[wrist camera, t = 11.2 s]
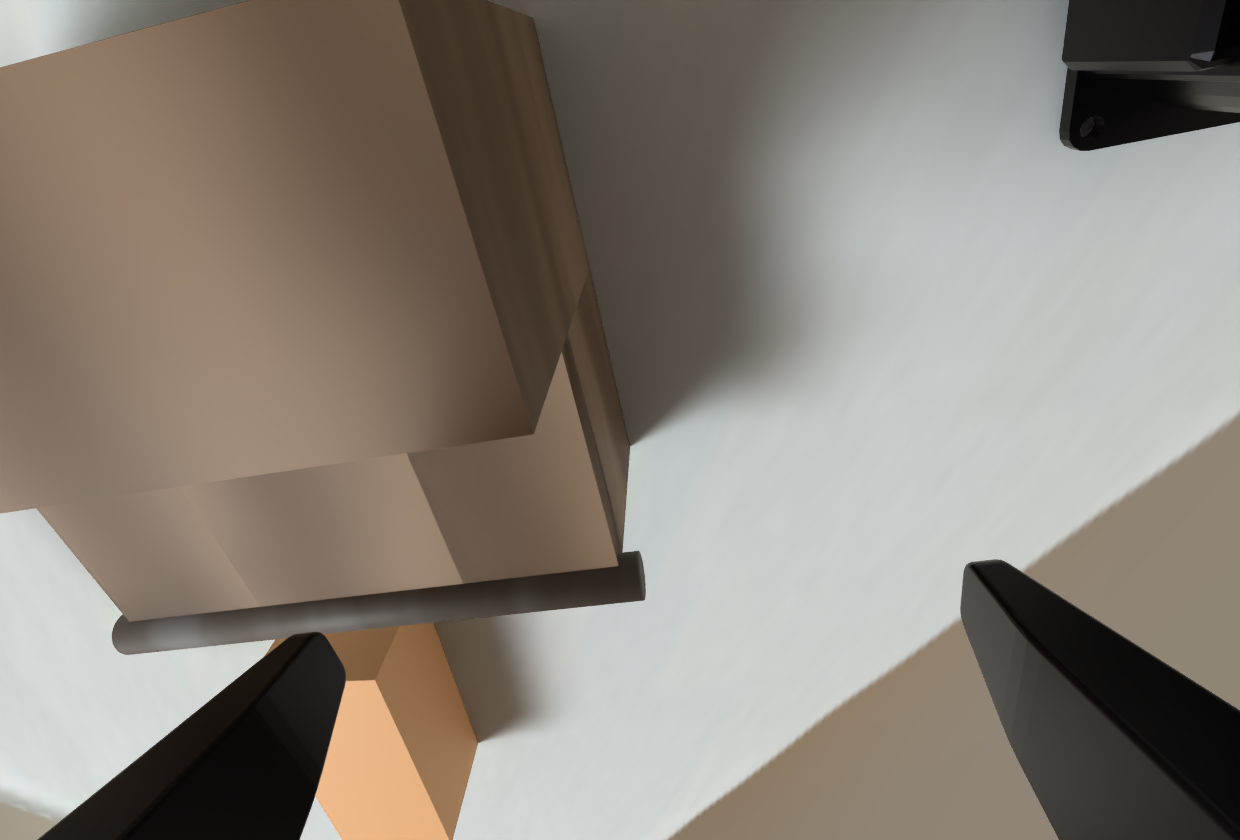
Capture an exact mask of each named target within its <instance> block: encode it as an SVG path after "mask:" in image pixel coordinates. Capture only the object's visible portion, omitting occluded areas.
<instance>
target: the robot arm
mask: <svg viewBox="0 0 1240 840" xmlns="http://www.w3.org/2000/svg"><path fill="white" fill-rule="evenodd" d="M1062 60H1063V62H1064V63H1065V64H1066V65H1067V66H1068V69H1067V77H1066V84H1065V92H1064V99H1063V107H1062V115H1061V122H1060V130H1059V133H1060V140H1061V142H1062V143H1063V145H1064V146H1066V147H1068V148H1070V149H1075V150H1080V151H1089V150H1095V149H1100V148H1105V147H1110V146H1116V145H1121V144H1126V143H1131V142H1137V141H1142V140H1147V139H1152V138H1158V137H1163V136H1168V135H1173V134H1179V133H1184V132H1189V131H1194V130H1200V129H1205V128H1210V127H1215V126H1221V125H1226V124H1231V123H1236V122H1240V0H1069V7H1068V15H1067V23H1066V31H1065V39H1064V47H1063V54H1062ZM1090 117H1092V118H1093V121H1094V125H1093V127H1092V130H1091V131H1090V132H1089V133H1088V134H1087V135H1086V136H1084V137H1081V133H1080V129H1081V127H1082V124H1083V123H1084V122H1085V121H1086V120H1087V119H1088V118H1090ZM960 610H961V618H962V622H963V625H964V628H965V631H966V633H967V636H968V639H969V641H970V644H971V646H972V648H973V651H974V653H975V656H976V659H977V662H978V664H979V667H980V669H981V672H982V674H983V677H984V679H985V682H986V685H987V687H988V690H989V692H990V695H991V697H992V700H993V703H994V705H995V708H996V710H997V713H998V715H999V718H1000V721H1001V723H1002V725H1003V728H1004V730H1005V733H1006V735H1007V738H1008V740H1009V742H1010V745H1011V747H1012V748H1013V751H1014V753H1015V755H1016V757H1017V759H1018V761H1019V763H1020V765H1021V767H1022V769H1023V771H1024V773H1025V774H1026V777H1027V779H1028V781H1029V782H1030V784H1031V786H1032V788H1033V790H1034V792H1035V794H1036V796H1037V798H1038V800H1039V802H1040V804H1041V805H1042V807H1043V809H1044V811H1045V813H1046V815H1047V817H1048V819H1049V821H1050V823H1051V825H1052V827H1053V829H1054V831H1055V833H1056V834H1057V836H1058V838H1059V840H1240V710H1238V709H1237V708H1235V707H1234V706H1232V705H1231V704H1229V703H1227V702H1226V701H1224V700H1223V699H1221V698H1220V697H1218V696H1216V695H1215V694H1213V693H1212V692H1210V691H1209V690H1207V689H1205V688H1204V687H1202V686H1201V685H1199V684H1197V683H1196V682H1194V681H1193V680H1191V679H1190V678H1188V677H1186V676H1185V675H1183V674H1182V673H1180V672H1179V671H1177V670H1175V669H1174V668H1172V667H1171V666H1169V665H1167V664H1166V663H1164V662H1162V661H1161V660H1160V659H1158V658H1157V657H1155V656H1153V655H1152V654H1150V653H1149V652H1147V651H1145V650H1144V649H1142V648H1141V647H1139V646H1138V645H1136V644H1134V643H1133V642H1131V641H1130V640H1128V639H1126V638H1125V637H1123V636H1122V635H1120V634H1119V633H1117V632H1116V631H1114V630H1112V629H1111V628H1109V627H1108V626H1106V625H1105V624H1103V623H1101V622H1100V621H1098V620H1097V619H1095V618H1094V617H1092V616H1090V615H1089V614H1087V613H1086V612H1084V611H1082V610H1081V609H1079V608H1078V607H1076V606H1075V605H1073V604H1072V603H1070V602H1068V601H1067V600H1065V599H1064V598H1062V597H1060V596H1059V595H1057V594H1056V593H1054V592H1053V591H1051V590H1049V589H1048V588H1046V587H1045V586H1043V585H1042V584H1040V583H1039V582H1037V581H1035V580H1034V579H1032V578H1030V577H1029V576H1027V575H1026V574H1024V573H1023V572H1021V571H1020V570H1018V569H1016V568H1015V567H1013V566H1012V565H1010V564H1009V563H1007V562H1005V561H1002V560H986V561H977V562H970V563H968V564H967V565H966V567H965V569H964V574H963V585H962V596H961V607H960ZM345 683H346V671H345V668H344V665H343V664H342V662H341V660H340V659H339V657H338V656H337V654H336V652H335V651H334V649H333V647H332V646H331V644H330V642H329V641H328V639H327V638H326V636H325V635H324V634H322V633H320V632H307V633H298V634H294V635H292V636H290V637H288V638H287V639H286V640H284V641H283V642H282V643H281V644H279V645H278V646H277V647H276V648H274V649H273V650H272V651H271V652H270V653H268V654H267V655H266V656H265V657H263V658H262V659H261V660H260V661H258V662H257V663H256V664H255V665H253V666H252V667H251V668H250V669H248V670H247V671H246V672H245V673H243V674H242V675H241V676H240V677H239V678H237V679H236V680H235V681H234V682H232V683H231V684H230V685H229V686H227V687H226V688H225V689H224V690H222V691H221V692H220V693H219V694H217V695H216V696H215V697H214V698H212V699H211V700H210V701H209V702H207V703H206V704H205V705H204V706H203V707H201V708H200V709H199V710H198V711H196V712H195V713H194V714H193V715H191V716H190V717H189V718H188V719H186V720H185V721H184V722H183V723H181V724H180V725H179V726H178V727H176V728H175V729H174V730H173V731H171V732H170V733H169V734H168V735H167V736H165V737H164V738H163V739H162V740H160V741H159V742H158V743H157V744H155V745H154V746H153V747H152V748H150V749H149V750H148V751H147V752H145V753H144V754H143V755H142V756H140V757H139V758H138V759H137V760H136V761H134V762H133V763H132V764H131V765H129V766H128V767H127V768H126V769H124V770H123V771H122V772H121V773H119V774H118V775H117V776H116V777H114V778H113V779H112V780H111V781H109V782H108V783H107V784H106V785H104V786H103V787H102V788H101V789H100V790H98V791H97V792H96V793H95V794H93V795H92V796H91V797H90V798H88V799H87V800H86V801H85V802H83V803H82V804H81V805H80V806H78V807H77V808H76V809H75V810H73V811H72V812H71V813H70V814H68V815H67V816H66V817H65V818H64V819H62V820H61V821H60V822H59V823H57V824H56V825H55V826H54V827H52V828H51V829H50V830H49V831H47V832H46V833H45V834H44V835H43V836H42V837H40V838H39V839H37V840H300V837H301V834H302V832H303V829H304V826H305V823H306V821H307V818H308V815H309V812H310V810H311V807H312V804H313V801H314V798H315V795H316V792H317V789H318V785H319V782H320V778H321V775H322V772H323V768H324V764H325V760H326V757H327V753H328V749H329V745H330V741H331V737H332V734H333V730H334V726H335V722H336V718H337V715H338V711H339V707H340V703H341V699H342V695H343V692H344V688H345Z"/></svg>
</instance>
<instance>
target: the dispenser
mask: <svg viewBox="0 0 1240 840" xmlns="http://www.w3.org/2000/svg"><path fill="white" fill-rule="evenodd" d="M629 454H630V446H629V441H628V437H627V432H626V428H625V424H624V419H623V415H622V410H621V406H620V401H619V397H618V393H617V388H616V384H615V379H614V375H613V370H612V366H611V362H610V357H609V353H608V348H607V344H606V340H605V335H604V331H603V326H602V322H601V317H600V313H599V309H598V304H597V300H596V295H595V291H594V286H593V282H592V278H591V273H590V269H589V264H588V260H587V255H586V251H585V247H584V242H583V238H582V233H581V229H580V224H579V220H578V216H577V211H576V207H575V202H574V198H573V194H572V189H571V185H570V180H569V176H568V171H567V167H566V163H565V158H564V154H563V149H562V145H561V140H560V136H559V132H558V127H557V123H556V118H555V114H554V109H553V105H552V101H551V96H550V92H549V87H548V83H547V79H546V74H545V70H544V65H543V61H542V56H541V52H540V48H539V43H538V39H537V34H536V30H535V25H534V21H533V18H531V17H528V16H525V15H523V14H520V13H518V12H515V11H512V10H510V9H507V8H504V7H502V6H499V5H496V4H494V3H491V2H489V1H486V0H249V1H245V2H241V3H237V4H234V5H230V6H226V7H223V8H219V9H215V10H212V11H208V12H204V13H200V14H197V15H193V16H189V17H186V18H182V19H178V20H175V21H171V22H167V23H163V24H160V25H156V26H152V27H149V28H145V29H141V30H138V31H134V32H130V33H126V34H123V35H119V36H115V37H112V38H108V39H104V40H100V41H97V42H93V43H89V44H86V45H82V46H78V47H75V48H71V49H67V50H63V51H60V52H56V53H52V54H49V55H45V56H41V57H38V58H34V59H30V60H26V61H23V62H19V63H15V64H12V65H8V66H4V67H1V68H0V513H6V512H12V511H19V510H26V509H33V508H37V510H38V511H39V512H40V513H41V514H42V516H43V517H44V518H45V519H46V521H47V522H48V523H49V524H50V525H51V527H52V528H53V529H54V530H55V532H56V533H57V534H58V535H59V536H60V538H61V539H62V540H63V541H64V543H65V544H66V545H67V546H68V547H69V549H70V550H71V551H72V552H73V554H74V555H75V556H76V557H77V558H78V560H79V561H80V562H81V563H82V565H83V566H84V567H85V568H86V569H87V571H88V572H89V573H90V574H91V576H92V577H93V578H94V579H95V580H96V582H97V583H98V584H99V585H100V586H101V588H102V589H103V590H104V591H105V593H106V594H107V595H108V596H109V597H110V599H111V600H112V601H113V602H114V604H115V605H116V606H117V607H118V608H119V610H120V611H121V612H122V613H123V615H122V616H121V617H120V618H119V619H118V620H117V622H116V623H115V625H114V628H113V632H112V641H113V645H114V647H115V648H116V649H117V650H118V651H119V652H120V653H122V654H126V655H130V654H140V653H149V652H159V651H168V650H178V649H187V648H197V647H206V646H216V645H225V644H235V643H244V642H254V641H263V640H273V639H282V638H288V637H290V636H292V635H294V634H298V633H307V632H320V633H322V634H330V633H339V632H349V631H358V630H368V629H377V628H387V627H396V626H405V625H415V624H424V623H434V622H443V621H453V620H462V619H472V618H481V617H491V616H500V615H510V614H519V613H529V612H538V611H548V610H557V609H567V608H576V607H586V606H595V605H605V604H614V603H624V602H633V601H643V600H645V593H646V589H645V575H644V568H643V562H642V558H641V554H640V552H639V551H634V552H625V553H622V550H623V536H624V523H625V509H626V495H627V481H628V467H629Z"/></svg>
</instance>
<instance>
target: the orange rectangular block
mask: <svg viewBox="0 0 1240 840" xmlns="http://www.w3.org/2000/svg"><path fill="white" fill-rule="evenodd" d="M324 635H325V636H326V638H327V639H328V641H329V642H330V644H331V646H332V647H333V649H334V651H335V652H336V654H337V656H338V657H339V659H340V660H341V662H342V664H343V665H344V668H345V671H346V683H345V688H344V692H343V695H342V699H341V703H340V707H339V711H338V715H337V718H336V722H335V726H334V730H333V734H332V737H331V741H330V745H329V749H328V753H327V757H326V760H325V764H324V768H323V772H322V775H321V778H320V782H319V785H318V789H317V792H316V795H315V796H316V798H317V800H318V801H319V803H320V804H321V806H322V808H323V809H324V811H325V813H326V814H327V816H328V817H329V819H330V821H331V822H332V824H333V825H334V827H335V829H336V830H337V832H338V833H339V835H340V837H341V838H342V840H453V836H454V832H455V828H456V825H457V821H458V817H459V813H460V809H461V806H462V802H463V798H464V794H465V791H466V787H467V783H468V779H469V775H470V772H471V768H472V764H473V760H474V756H475V753H476V749H477V745H478V742H477V739H476V736H475V734H474V731H473V728H472V726H471V723H470V720H469V717H468V715H467V712H466V709H465V707H464V704H463V701H462V699H461V696H460V693H459V690H458V688H457V685H456V682H455V680H454V677H453V674H452V672H451V669H450V666H449V664H448V661H447V658H446V655H445V653H444V650H443V647H442V645H441V642H440V639H439V637H438V634H437V631H436V628H435V626H434V623H424V624H415V625H405V626H396V627H387V628H377V629H368V630H358V631H349V632H339V633H330V634H324ZM286 639H287V638H282V639H276V640H275V641H274V643H273V644H272V646H271V647H270V649H269V650H268V652H267V653H266V655H267V654H268V653H270V652H271V651H272V650H273V649H274V648H276V647H277V646H278V645H279V644H281V643H282V642H283V641H284V640H286ZM266 655H265V656H266ZM265 656H264V657H265Z"/></svg>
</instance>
